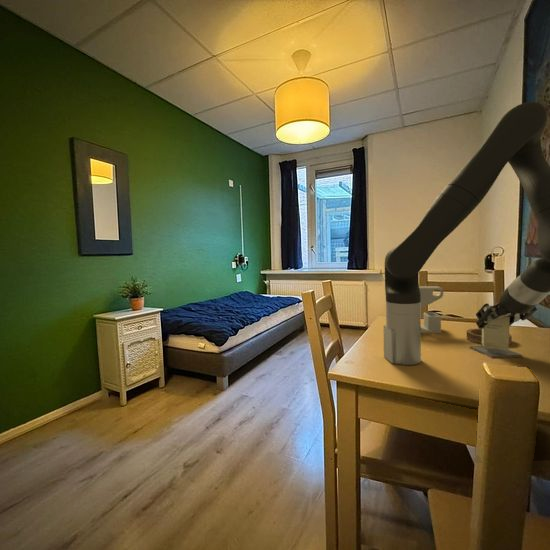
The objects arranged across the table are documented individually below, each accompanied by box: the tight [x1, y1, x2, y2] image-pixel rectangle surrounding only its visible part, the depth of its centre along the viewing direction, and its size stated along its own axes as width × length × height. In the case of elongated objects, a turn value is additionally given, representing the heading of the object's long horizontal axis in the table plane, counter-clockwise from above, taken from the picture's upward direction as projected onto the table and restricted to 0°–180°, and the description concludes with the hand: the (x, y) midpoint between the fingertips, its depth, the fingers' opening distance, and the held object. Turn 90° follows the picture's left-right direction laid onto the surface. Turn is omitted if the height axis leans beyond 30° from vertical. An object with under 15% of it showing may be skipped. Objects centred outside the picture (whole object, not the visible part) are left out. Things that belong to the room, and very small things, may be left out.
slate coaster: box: [469, 345, 523, 358], centre depth 88 cm, size 9×9×1 cm
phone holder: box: [419, 285, 444, 334], centre depth 116 cm, size 17×10×18 cm, turn 78°
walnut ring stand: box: [466, 328, 513, 346], centre depth 100 cm, size 12×12×2 cm
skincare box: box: [481, 310, 510, 350], centre depth 88 cm, size 6×4×12 cm
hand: (491, 325), depth 89 cm, fingers closed on skincare box, 7 cm apart
